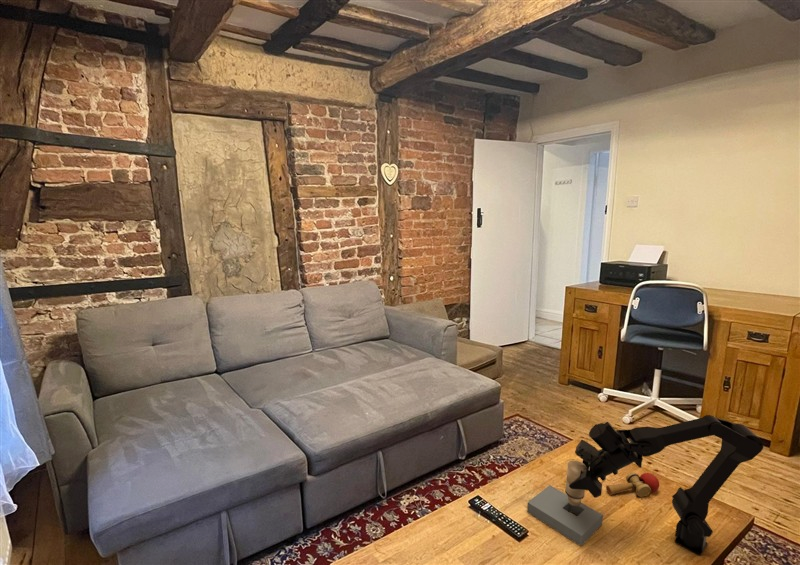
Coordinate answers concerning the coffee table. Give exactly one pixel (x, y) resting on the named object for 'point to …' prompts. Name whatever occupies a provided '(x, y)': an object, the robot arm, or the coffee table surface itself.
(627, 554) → the coffee table surface
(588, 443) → the robot arm
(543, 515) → the board
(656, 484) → the kendama
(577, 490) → the peg
